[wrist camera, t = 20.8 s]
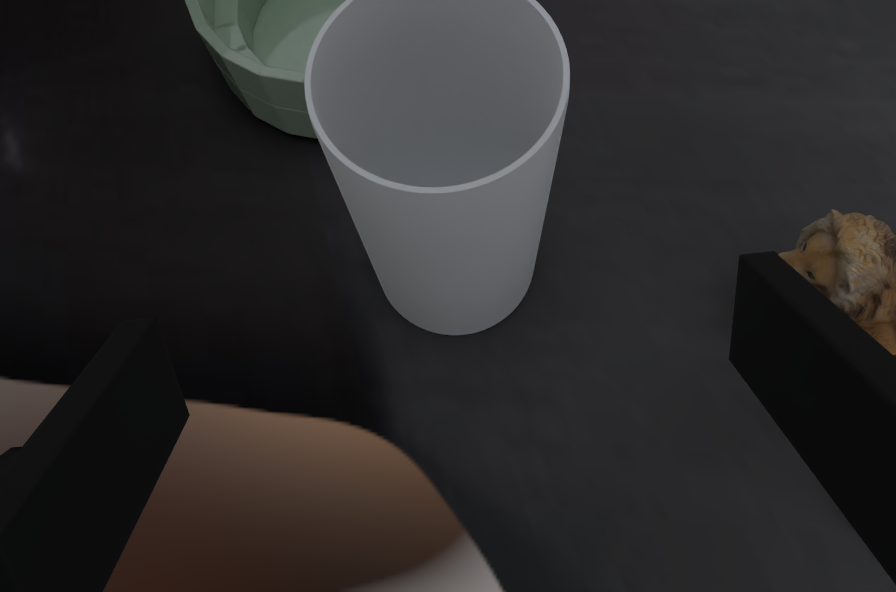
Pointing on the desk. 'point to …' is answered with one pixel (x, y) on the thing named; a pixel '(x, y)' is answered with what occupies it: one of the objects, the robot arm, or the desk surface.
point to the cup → (443, 146)
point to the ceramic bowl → (264, 52)
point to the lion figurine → (852, 269)
